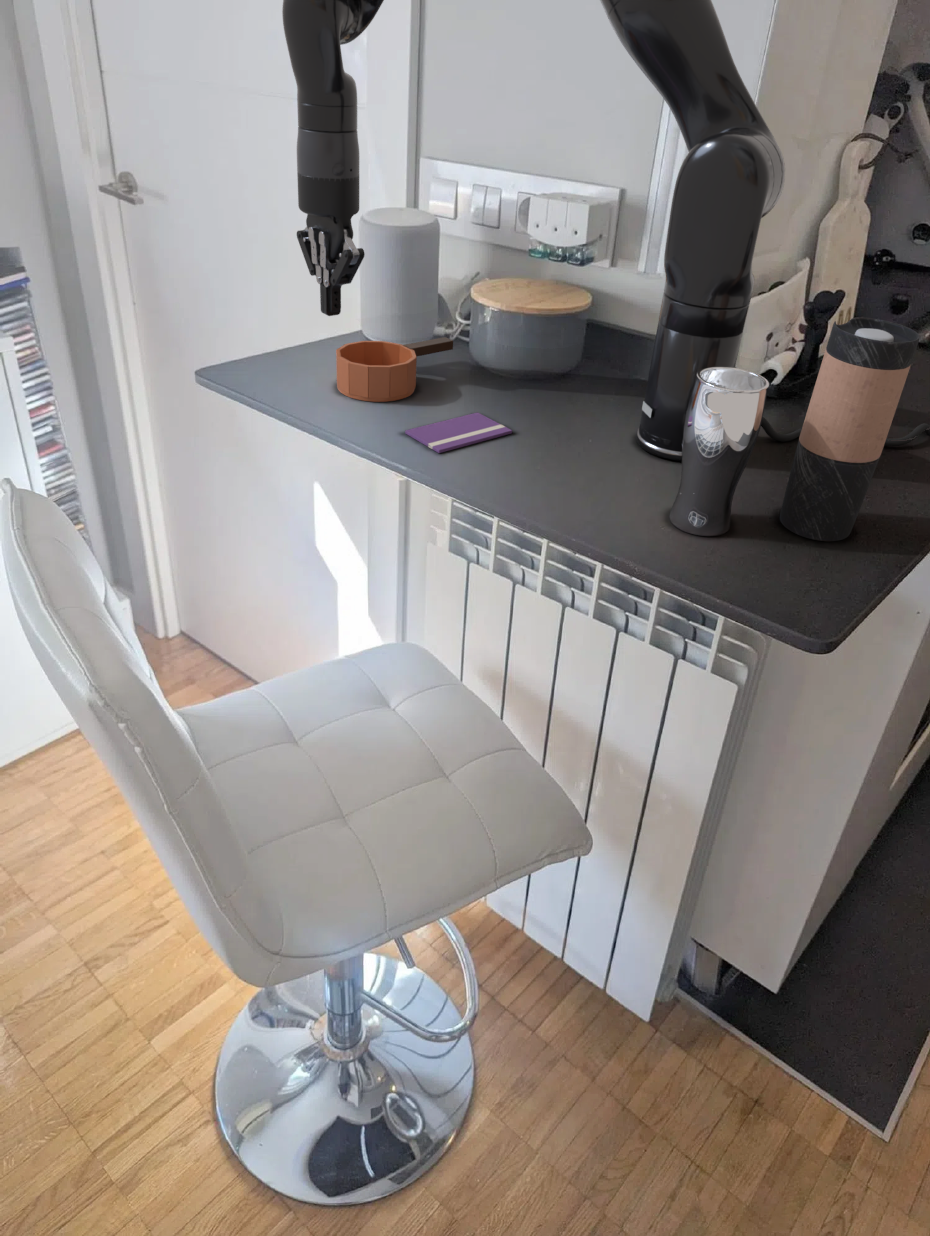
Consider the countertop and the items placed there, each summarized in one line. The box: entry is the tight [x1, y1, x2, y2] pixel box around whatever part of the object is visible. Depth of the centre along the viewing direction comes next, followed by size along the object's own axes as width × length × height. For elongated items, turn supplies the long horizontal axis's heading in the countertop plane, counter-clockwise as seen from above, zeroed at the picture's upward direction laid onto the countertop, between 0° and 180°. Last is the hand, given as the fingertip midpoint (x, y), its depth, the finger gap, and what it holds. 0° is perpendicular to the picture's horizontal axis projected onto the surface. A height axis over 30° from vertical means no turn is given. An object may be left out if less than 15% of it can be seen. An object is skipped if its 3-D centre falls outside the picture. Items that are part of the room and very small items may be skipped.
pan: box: [335, 336, 454, 403], centre depth 118 cm, size 17×10×5 cm, turn 129°
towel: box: [404, 412, 513, 454], centre depth 107 cm, size 11×6×1 cm, turn 129°
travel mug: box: [779, 317, 920, 542], centre depth 88 cm, size 8×8×20 cm
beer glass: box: [668, 367, 770, 537], centre depth 88 cm, size 7×7×15 cm
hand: (330, 313), depth 120 cm, fingers closed
